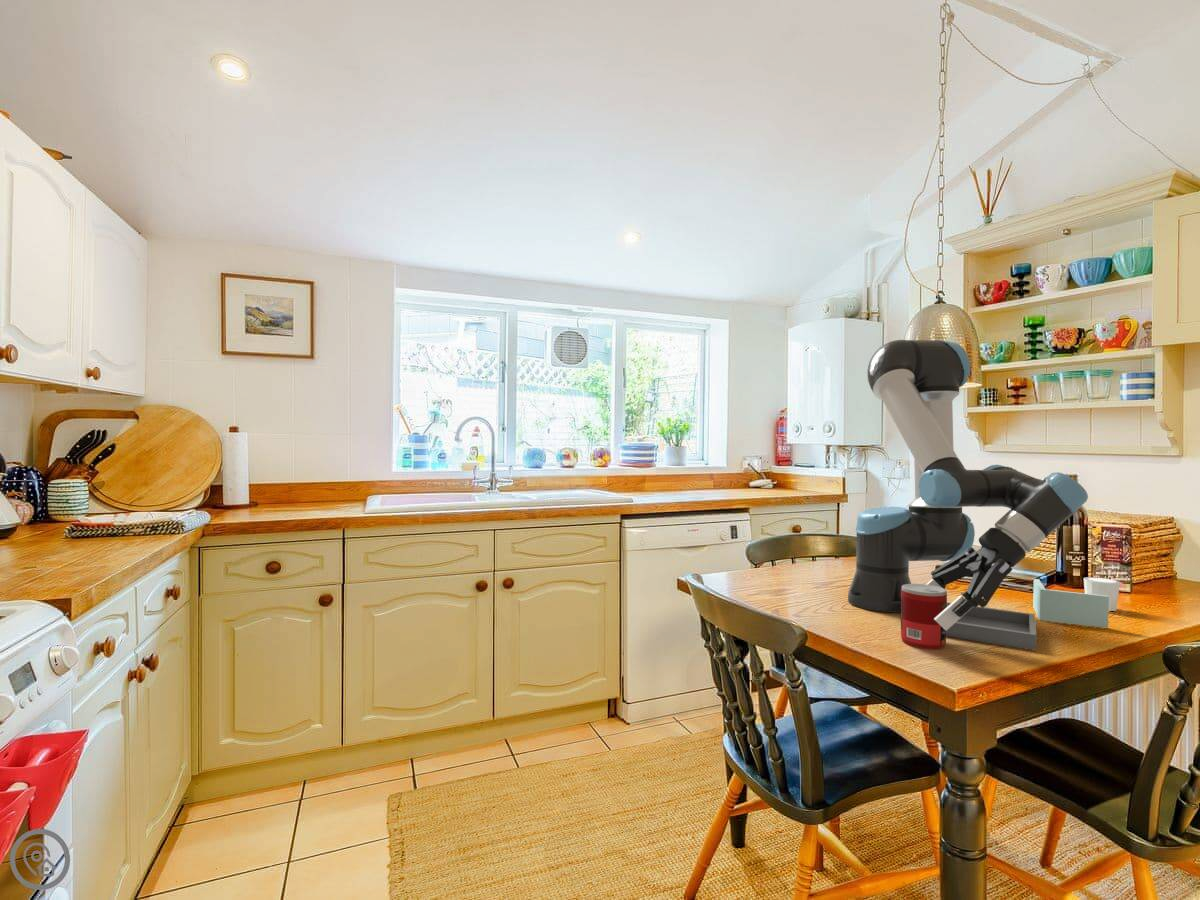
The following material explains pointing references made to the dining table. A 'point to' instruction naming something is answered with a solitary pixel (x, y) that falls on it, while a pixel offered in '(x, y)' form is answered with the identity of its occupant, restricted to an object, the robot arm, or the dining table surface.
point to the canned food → (922, 615)
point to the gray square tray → (996, 627)
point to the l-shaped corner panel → (1070, 606)
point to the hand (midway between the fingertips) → (926, 614)
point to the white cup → (1103, 589)
